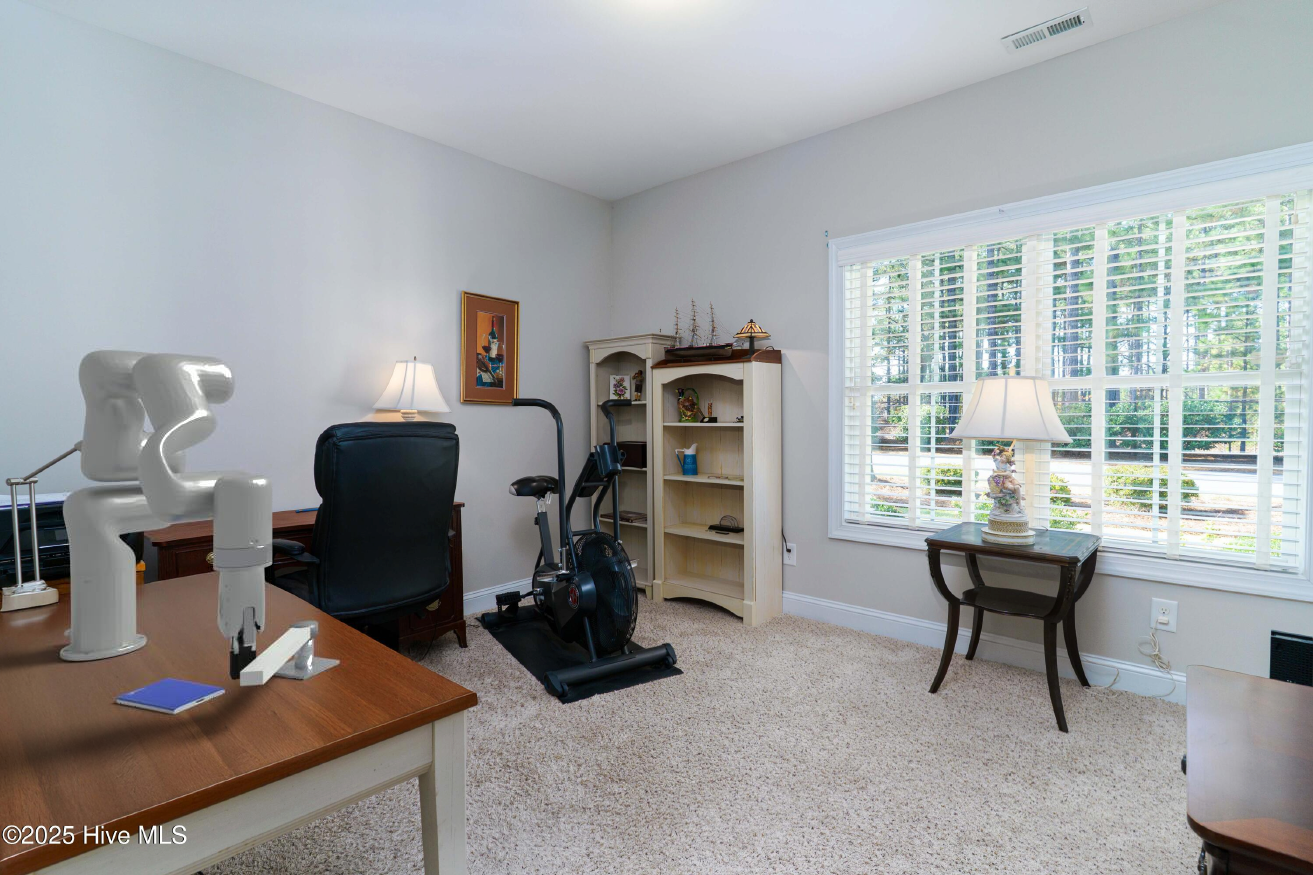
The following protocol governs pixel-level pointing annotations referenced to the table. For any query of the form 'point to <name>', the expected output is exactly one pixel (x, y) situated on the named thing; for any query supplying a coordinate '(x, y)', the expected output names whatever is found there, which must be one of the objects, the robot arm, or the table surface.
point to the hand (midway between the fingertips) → (243, 675)
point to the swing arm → (278, 653)
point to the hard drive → (170, 695)
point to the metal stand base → (305, 663)
